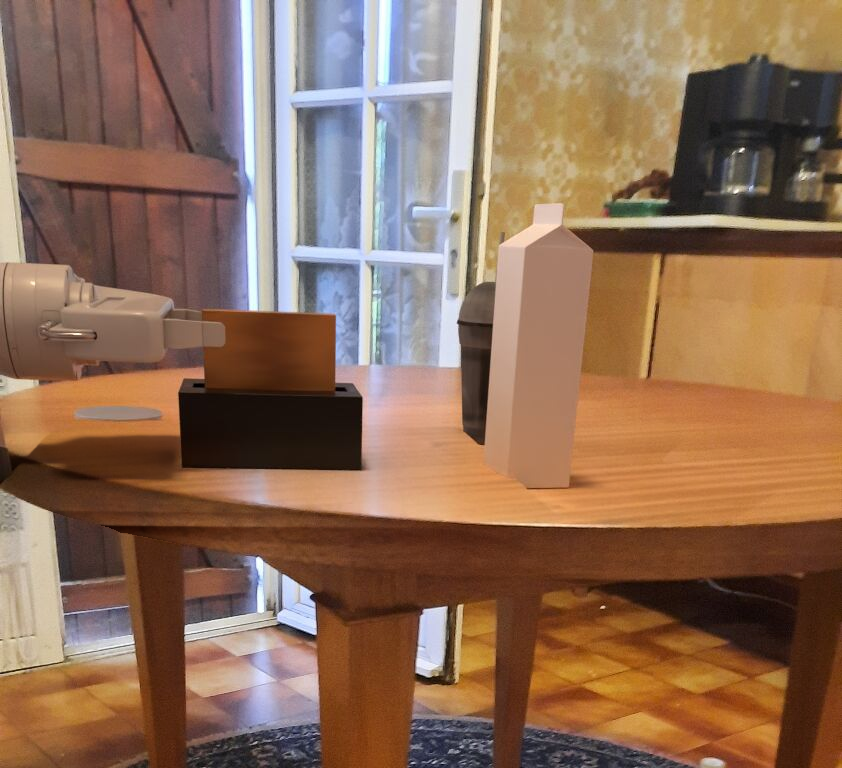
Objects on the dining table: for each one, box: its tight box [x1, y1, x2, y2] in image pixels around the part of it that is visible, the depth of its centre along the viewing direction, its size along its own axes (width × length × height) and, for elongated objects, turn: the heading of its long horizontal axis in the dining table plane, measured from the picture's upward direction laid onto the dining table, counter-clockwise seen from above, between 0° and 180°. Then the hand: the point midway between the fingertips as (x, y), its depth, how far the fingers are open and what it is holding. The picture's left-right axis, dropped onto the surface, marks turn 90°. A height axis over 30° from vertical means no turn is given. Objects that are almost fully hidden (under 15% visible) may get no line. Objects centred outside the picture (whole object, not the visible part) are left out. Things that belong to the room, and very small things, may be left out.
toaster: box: [177, 377, 364, 472], centre depth 93 cm, size 15×9×7 cm, turn 98°
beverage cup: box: [456, 231, 506, 446], centre depth 109 cm, size 7×7×20 cm
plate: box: [73, 405, 164, 422], centre depth 112 cm, size 9×9×1 cm
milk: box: [482, 202, 594, 489], centre depth 90 cm, size 6×6×22 cm
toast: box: [201, 308, 337, 391], centre depth 91 cm, size 11×2×12 cm, turn 98°
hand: (226, 329), depth 89 cm, fingers open, 8 cm apart
